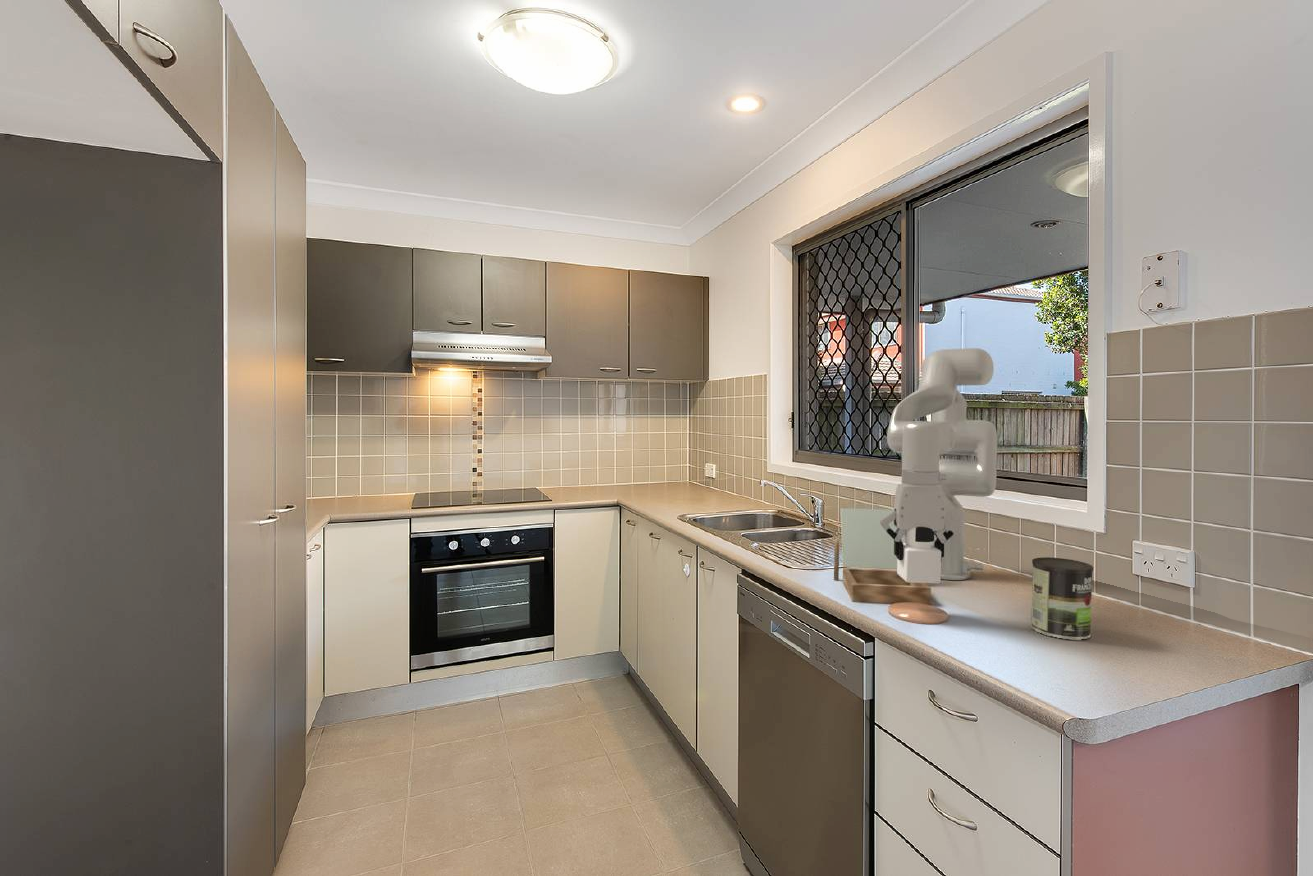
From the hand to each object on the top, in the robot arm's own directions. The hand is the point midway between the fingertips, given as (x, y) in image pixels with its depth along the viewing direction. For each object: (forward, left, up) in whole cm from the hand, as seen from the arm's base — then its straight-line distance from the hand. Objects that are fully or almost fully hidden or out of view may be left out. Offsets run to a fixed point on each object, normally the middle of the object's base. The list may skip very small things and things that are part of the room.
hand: (918, 559), depth 133 cm
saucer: (0, 0, -12) cm, 12 cm away
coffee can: (-26, +6, -13) cm, 30 cm away
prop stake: (+14, -26, -12) cm, 32 cm away
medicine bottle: (0, 0, -5) cm, 5 cm away
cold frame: (+4, -15, -12) cm, 20 cm away
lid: (+4, -25, -1) cm, 26 cm away
